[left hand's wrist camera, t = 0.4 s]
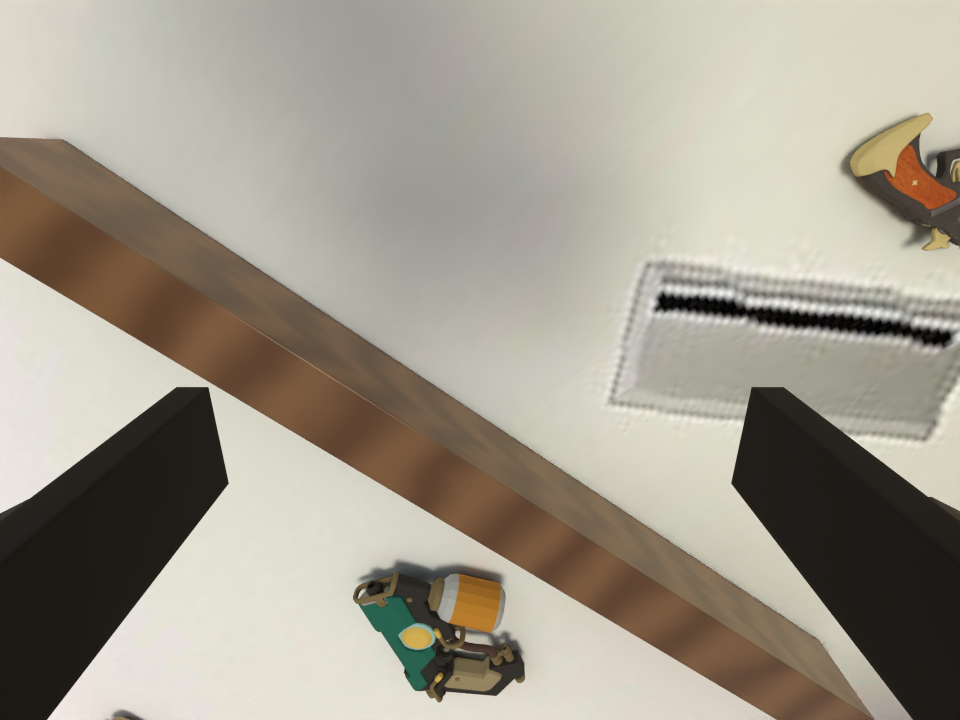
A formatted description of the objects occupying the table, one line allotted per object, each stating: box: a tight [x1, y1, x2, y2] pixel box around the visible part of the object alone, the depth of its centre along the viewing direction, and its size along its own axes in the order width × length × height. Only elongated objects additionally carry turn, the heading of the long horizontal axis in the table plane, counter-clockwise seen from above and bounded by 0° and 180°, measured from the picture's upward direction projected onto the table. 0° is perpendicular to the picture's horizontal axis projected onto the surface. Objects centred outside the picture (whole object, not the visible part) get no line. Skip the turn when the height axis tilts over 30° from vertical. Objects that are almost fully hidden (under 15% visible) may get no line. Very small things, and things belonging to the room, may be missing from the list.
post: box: [0, 137, 874, 720], centre depth 40 cm, size 78×5×8 cm, turn 53°
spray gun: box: [353, 572, 525, 702], centre depth 49 cm, size 4×17×15 cm
